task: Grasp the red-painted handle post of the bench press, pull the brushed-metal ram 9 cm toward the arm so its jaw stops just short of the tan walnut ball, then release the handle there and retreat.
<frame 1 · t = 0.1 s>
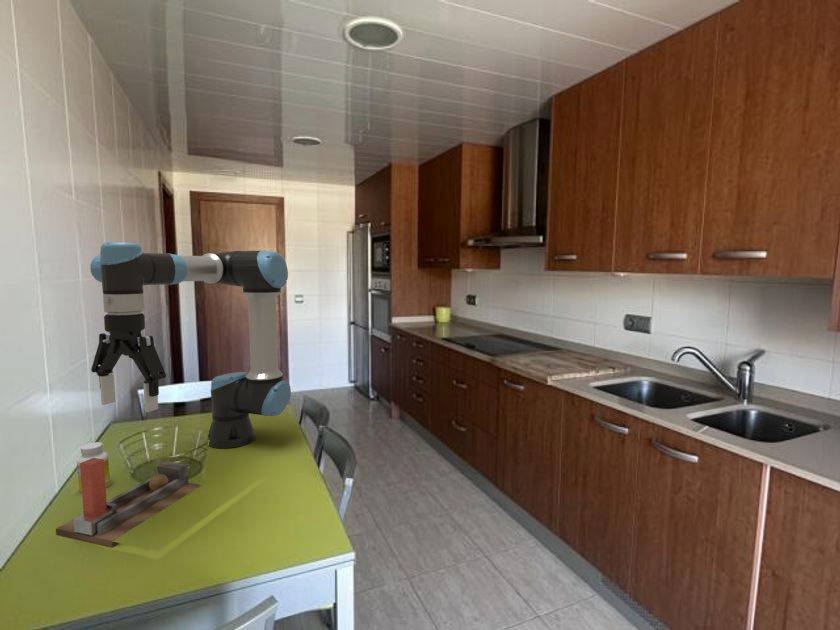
hand: (129, 406, 102), 28 cm above the table, fingers open, 13 cm apart
nut: (159, 491, 117), point 1 cm above the table, touching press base
supplement bottle: (95, 493, 119), on the table
lever: (94, 493, 100), point 9 cm above the table, slide at 0.0 cm
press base: (136, 510, 110), on the table
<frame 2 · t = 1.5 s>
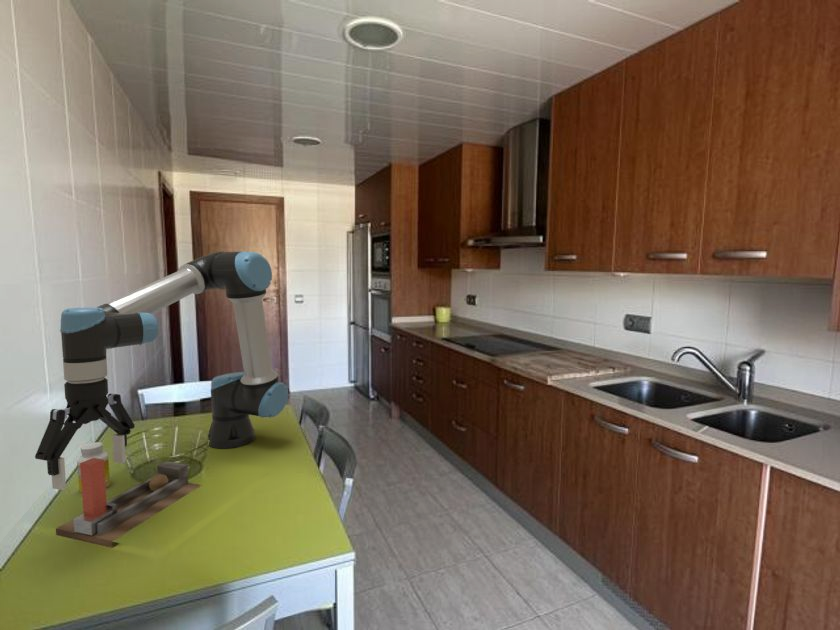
hand: (91, 474, 99), 14 cm above the table, fingers open, 13 cm apart
nothing on the table moved.
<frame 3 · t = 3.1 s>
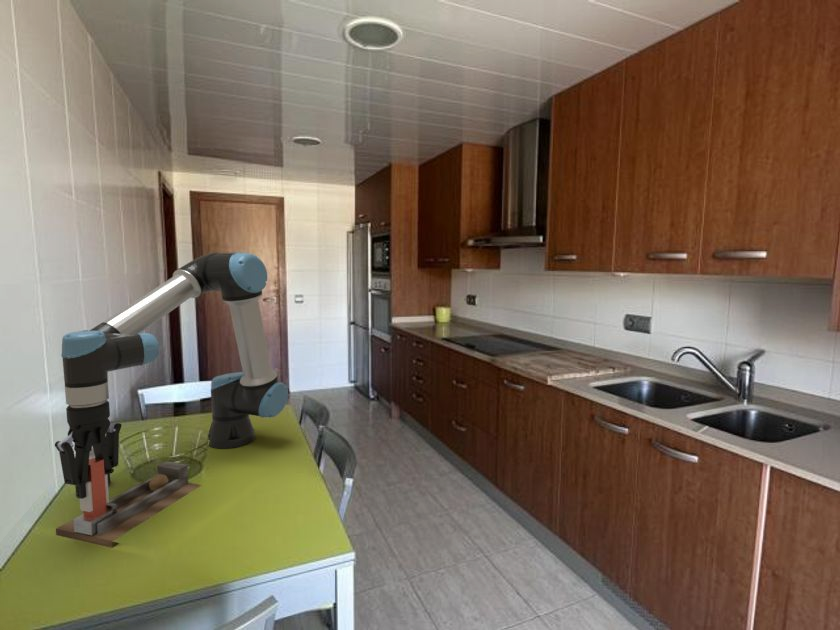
hand: (94, 505, 100), 7 cm above the table, fingers closed on lever, 3 cm apart
lever: (94, 493, 100), point 9 cm above the table, slide at 0.0 cm, touching gripper
everything else where it was.
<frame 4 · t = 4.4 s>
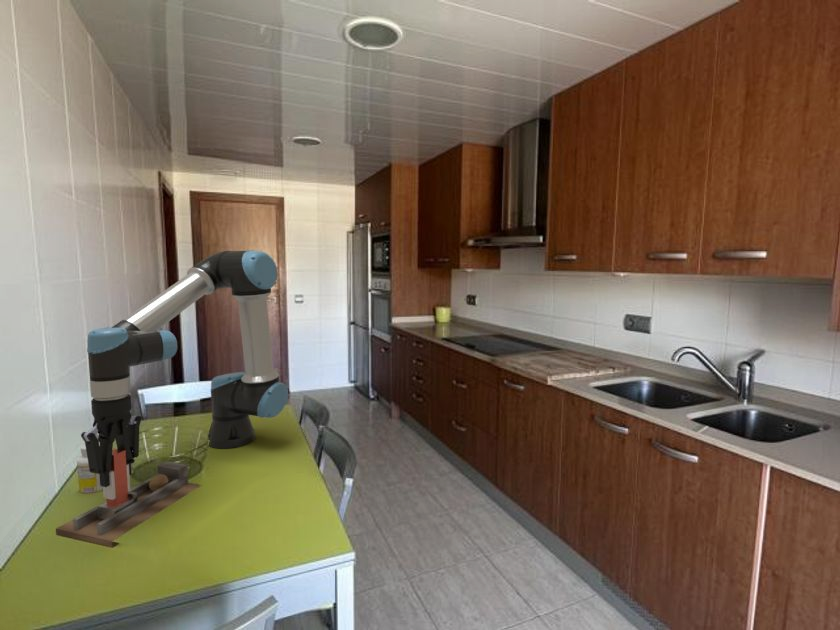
hand: (117, 494, 105), 7 cm above the table, fingers closed on lever, 3 cm apart
lever: (116, 482, 105), point 9 cm above the table, slide at 5.4 cm, touching gripper
everything else where it was.
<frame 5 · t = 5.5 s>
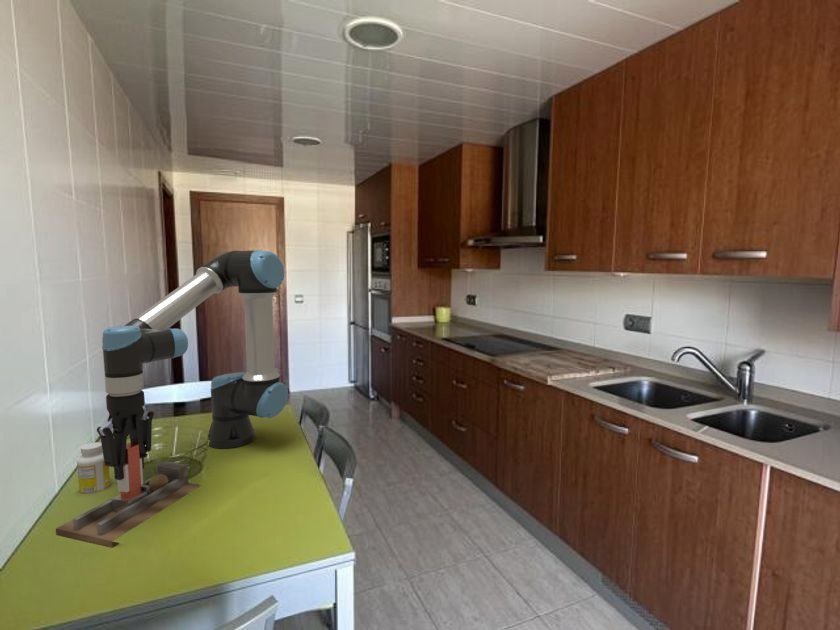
hand: (130, 487, 109), 7 cm above the table, fingers closed on lever, 3 cm apart
lever: (130, 476, 108), point 9 cm above the table, slide at 9.0 cm, touching gripper
everything else where it was.
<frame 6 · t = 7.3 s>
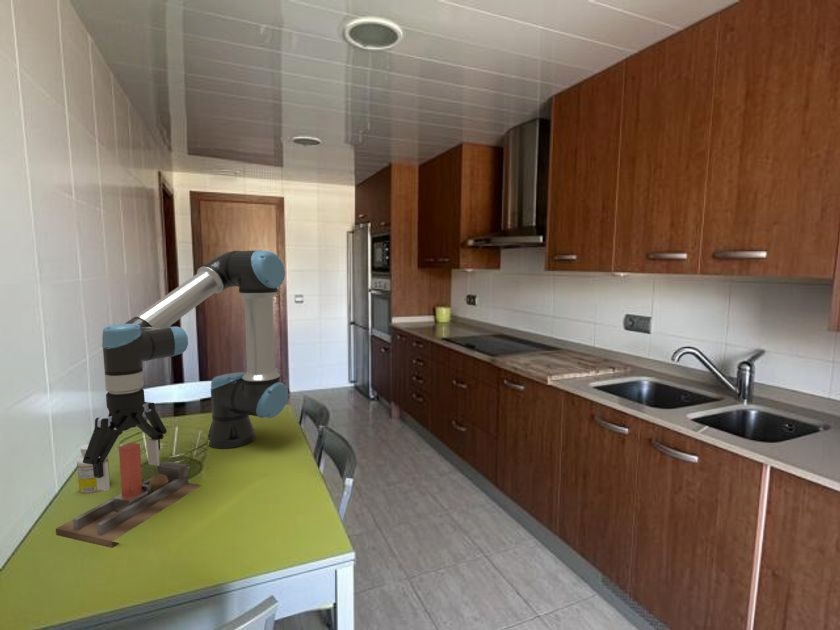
hand: (130, 476, 108), 9 cm above the table, fingers open, 13 cm apart
lever: (131, 475, 109), point 9 cm above the table, slide at 9.3 cm
everything else where it was.
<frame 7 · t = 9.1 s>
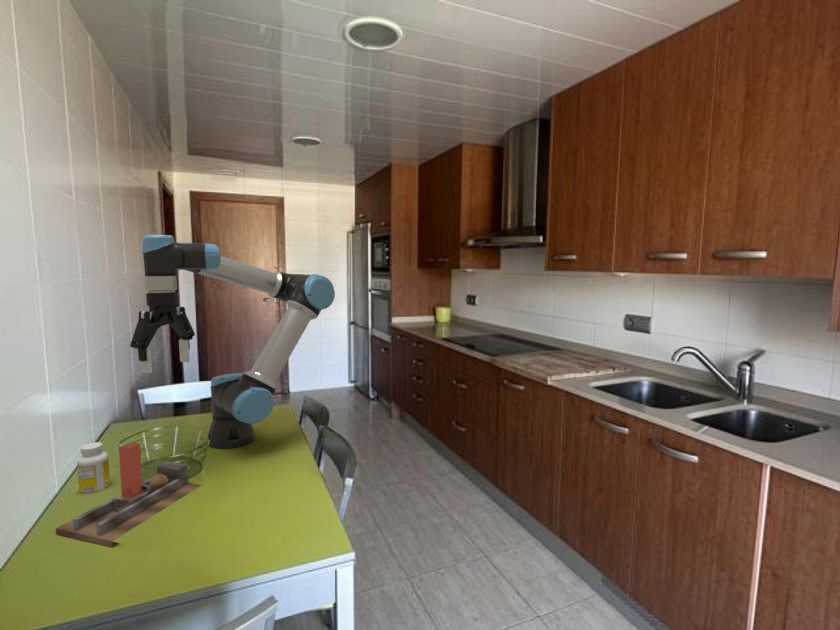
hand: (166, 367, 127), 31 cm above the table, fingers open, 13 cm apart
nothing on the table moved.
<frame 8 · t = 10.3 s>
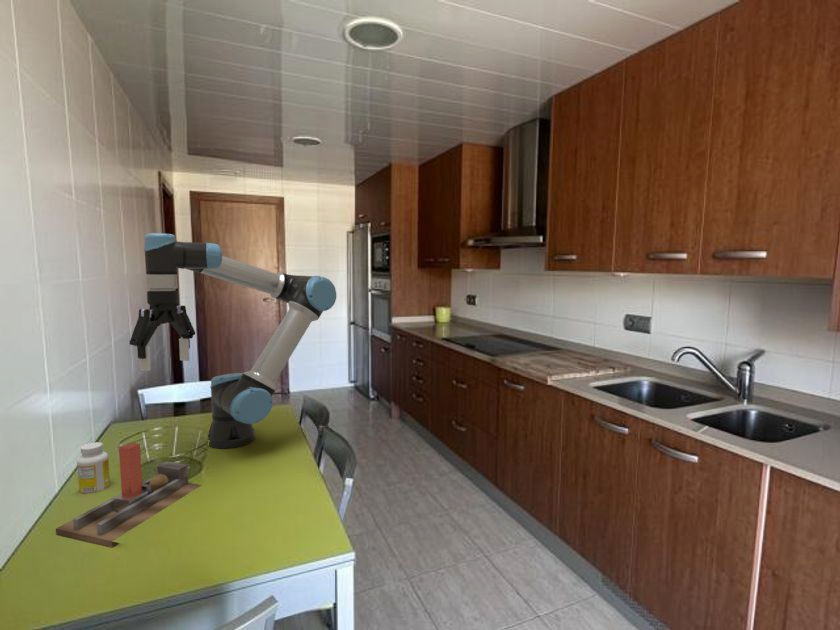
hand: (166, 365, 127), 32 cm above the table, fingers open, 13 cm apart
nothing on the table moved.
at the end: lever slide at 9.3 cm; nut moved 0.1 cm from its start; the gripper is holding nothing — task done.
